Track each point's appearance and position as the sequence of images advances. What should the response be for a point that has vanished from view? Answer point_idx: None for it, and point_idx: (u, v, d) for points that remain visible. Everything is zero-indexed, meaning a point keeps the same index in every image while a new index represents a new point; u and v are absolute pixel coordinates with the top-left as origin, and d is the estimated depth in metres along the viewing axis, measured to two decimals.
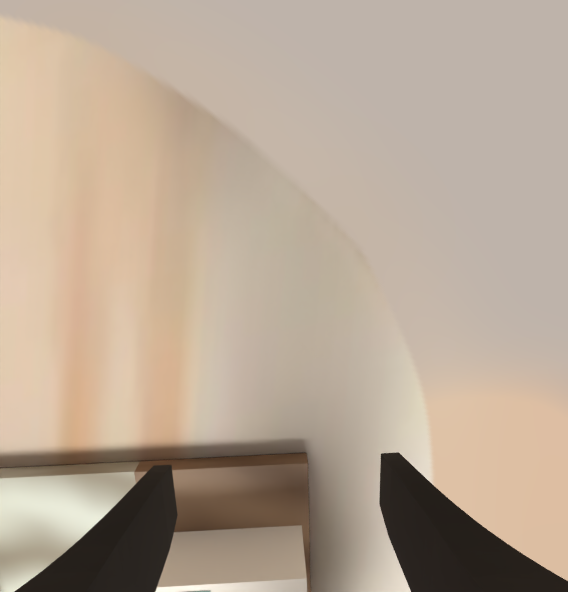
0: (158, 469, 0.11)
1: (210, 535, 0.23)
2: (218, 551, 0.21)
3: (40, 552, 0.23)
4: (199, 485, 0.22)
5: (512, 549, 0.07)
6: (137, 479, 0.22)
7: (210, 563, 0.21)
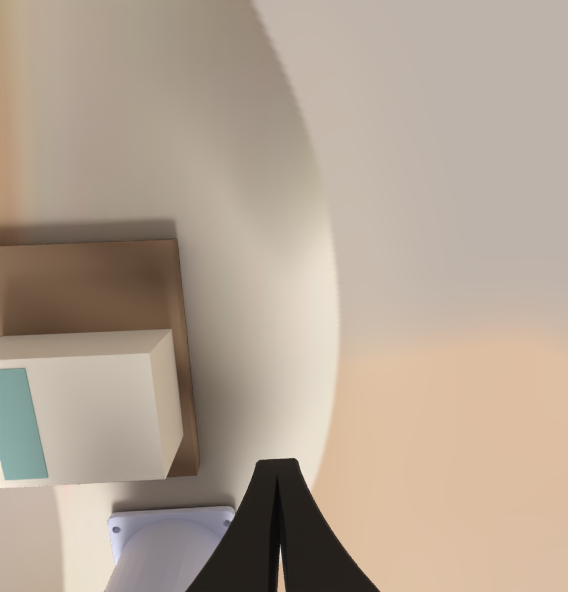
0: (268, 464, 0.11)
1: (55, 335, 0.18)
2: (54, 342, 0.17)
3: None
4: (37, 269, 0.18)
5: (348, 559, 0.07)
6: None
7: (38, 348, 0.16)
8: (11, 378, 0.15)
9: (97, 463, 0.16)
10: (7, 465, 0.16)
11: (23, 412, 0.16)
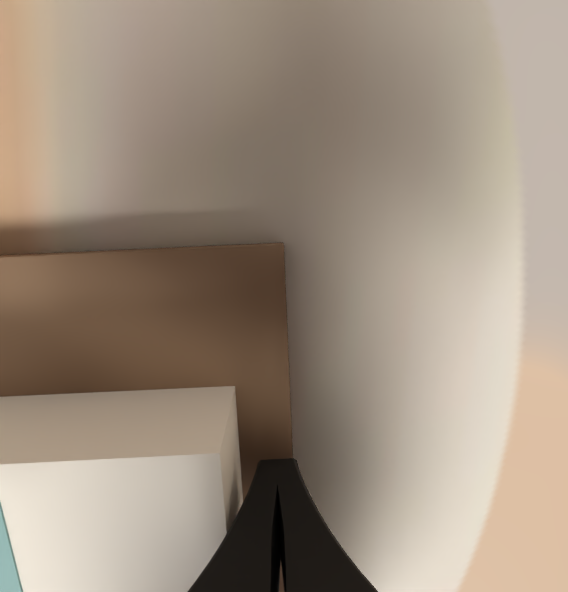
0: (270, 464, 0.11)
1: (50, 399, 0.11)
2: (49, 418, 0.10)
3: None
4: (66, 293, 0.11)
5: (346, 559, 0.07)
6: None
7: (20, 433, 0.10)
8: None
9: None
10: None
11: None
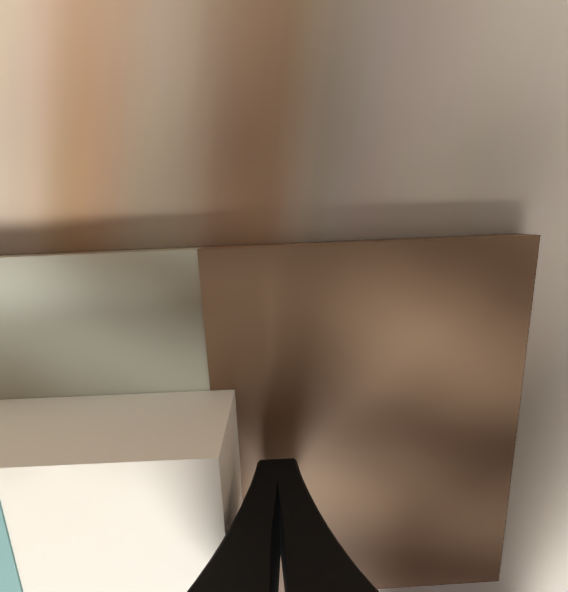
0: (269, 464, 0.11)
1: (51, 402, 0.11)
2: (50, 421, 0.10)
3: None
4: (324, 282, 0.11)
5: (346, 559, 0.07)
6: (202, 267, 0.11)
7: (22, 437, 0.10)
8: None
9: None
10: None
11: None
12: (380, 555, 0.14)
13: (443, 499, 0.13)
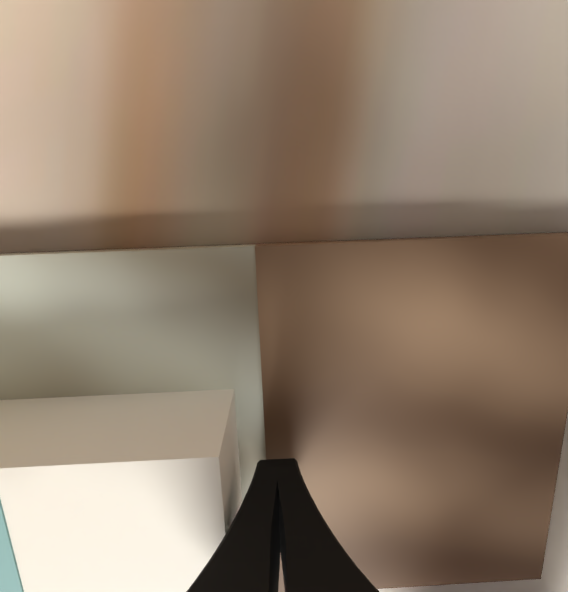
0: (269, 464, 0.11)
1: (51, 402, 0.11)
2: (50, 421, 0.10)
3: None
4: (379, 279, 0.11)
5: (347, 559, 0.07)
6: (259, 263, 0.11)
7: (21, 437, 0.10)
8: None
9: None
10: None
11: None
12: (424, 552, 0.14)
13: (489, 496, 0.13)
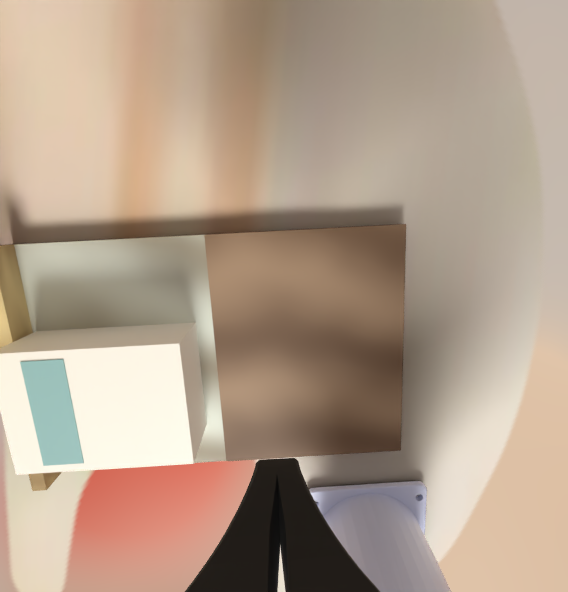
0: (268, 464, 0.11)
1: (86, 330, 0.19)
2: (87, 336, 0.18)
3: None
4: (279, 253, 0.19)
5: (348, 559, 0.07)
6: (207, 245, 0.19)
7: (73, 341, 0.17)
8: (50, 368, 0.16)
9: (130, 448, 0.17)
10: (45, 451, 0.17)
11: (61, 400, 0.17)
12: (322, 431, 0.21)
13: (360, 392, 0.21)
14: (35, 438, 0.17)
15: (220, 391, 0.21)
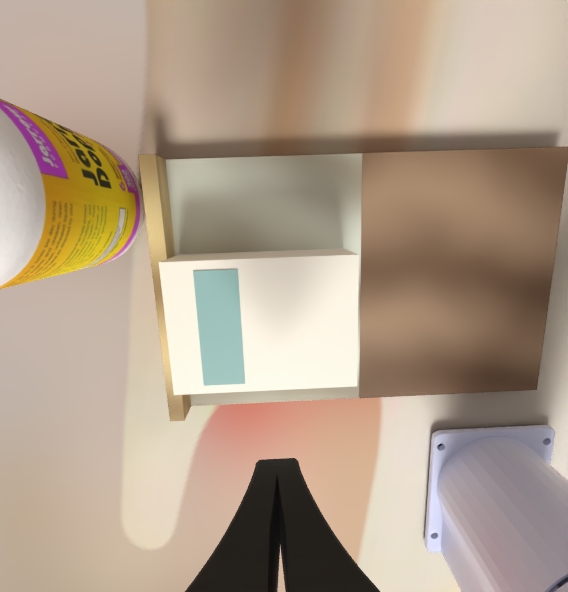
0: (268, 464, 0.11)
1: (233, 252, 0.18)
2: (244, 254, 0.17)
3: None
4: (437, 175, 0.18)
5: (348, 559, 0.07)
6: (364, 164, 0.18)
7: (236, 256, 0.17)
8: (224, 278, 0.16)
9: (294, 369, 0.17)
10: (208, 370, 0.17)
11: (229, 315, 0.16)
12: (460, 368, 0.21)
13: (502, 327, 0.20)
14: (198, 356, 0.16)
15: (361, 323, 0.20)
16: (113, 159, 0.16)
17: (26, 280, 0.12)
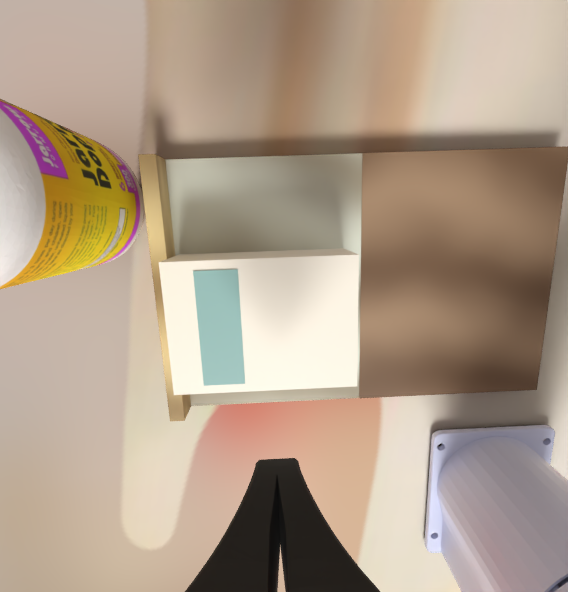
0: (268, 464, 0.11)
1: (233, 252, 0.18)
2: (244, 254, 0.17)
3: None
4: (437, 175, 0.18)
5: (348, 559, 0.07)
6: (364, 164, 0.18)
7: (236, 256, 0.17)
8: (224, 278, 0.16)
9: (294, 369, 0.17)
10: (208, 370, 0.17)
11: (229, 315, 0.16)
12: (460, 368, 0.21)
13: (502, 327, 0.20)
14: (198, 356, 0.16)
15: (361, 323, 0.20)
16: (113, 159, 0.16)
17: (26, 280, 0.12)
